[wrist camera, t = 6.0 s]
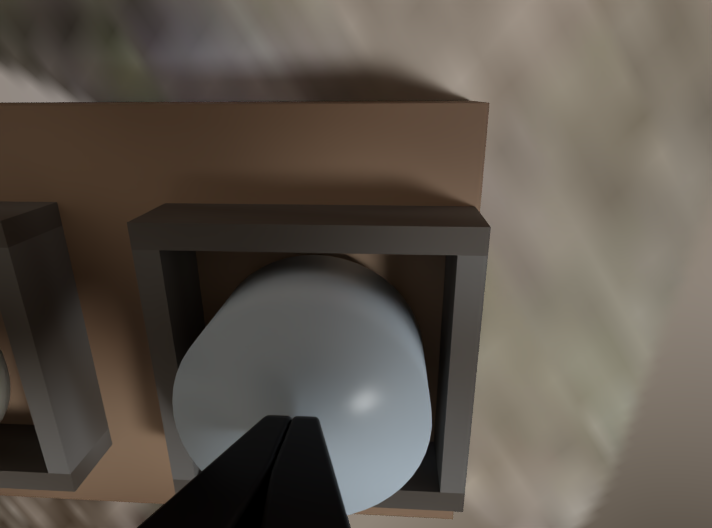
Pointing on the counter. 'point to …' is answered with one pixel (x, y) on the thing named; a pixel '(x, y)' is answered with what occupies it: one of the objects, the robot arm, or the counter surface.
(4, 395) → the cream button
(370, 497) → the slate button
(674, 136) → the counter surface
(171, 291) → the button board
